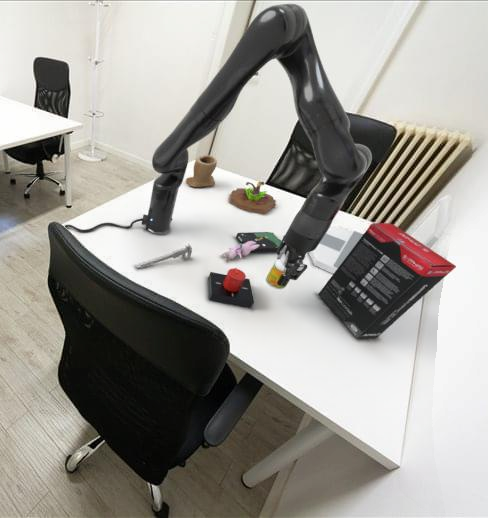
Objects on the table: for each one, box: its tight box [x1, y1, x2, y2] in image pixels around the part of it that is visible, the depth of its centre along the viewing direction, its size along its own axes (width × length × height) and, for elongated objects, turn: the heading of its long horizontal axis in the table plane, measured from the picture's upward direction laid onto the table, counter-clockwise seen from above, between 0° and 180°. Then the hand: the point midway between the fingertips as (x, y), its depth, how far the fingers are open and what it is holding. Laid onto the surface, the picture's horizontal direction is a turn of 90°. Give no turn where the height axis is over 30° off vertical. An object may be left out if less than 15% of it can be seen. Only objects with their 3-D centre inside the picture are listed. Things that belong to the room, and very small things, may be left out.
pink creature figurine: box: [221, 241, 260, 262], centre depth 104 cm, size 6×6×15 cm
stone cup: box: [185, 154, 218, 188], centre depth 145 cm, size 15×12×15 cm
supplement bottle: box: [265, 254, 293, 290], centre depth 81 cm, size 5×5×10 cm
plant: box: [229, 181, 277, 216], centre depth 134 cm, size 20×20×11 cm
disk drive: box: [235, 231, 283, 254], centre depth 110 cm, size 10×3×15 cm
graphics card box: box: [318, 222, 457, 340], centre depth 76 cm, size 17×7×27 cm, turn 5°
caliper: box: [135, 243, 193, 269], centre depth 98 cm, size 20×1×6 cm, turn 108°
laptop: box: [308, 193, 453, 275], centre depth 99 cm, size 33×24×26 cm
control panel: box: [207, 271, 255, 309], centre depth 89 cm, size 12×10×3 cm
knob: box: [223, 267, 247, 292], centre depth 87 cm, size 5×5×5 cm
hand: (278, 277), depth 83 cm, fingers closed on supplement bottle, 5 cm apart
